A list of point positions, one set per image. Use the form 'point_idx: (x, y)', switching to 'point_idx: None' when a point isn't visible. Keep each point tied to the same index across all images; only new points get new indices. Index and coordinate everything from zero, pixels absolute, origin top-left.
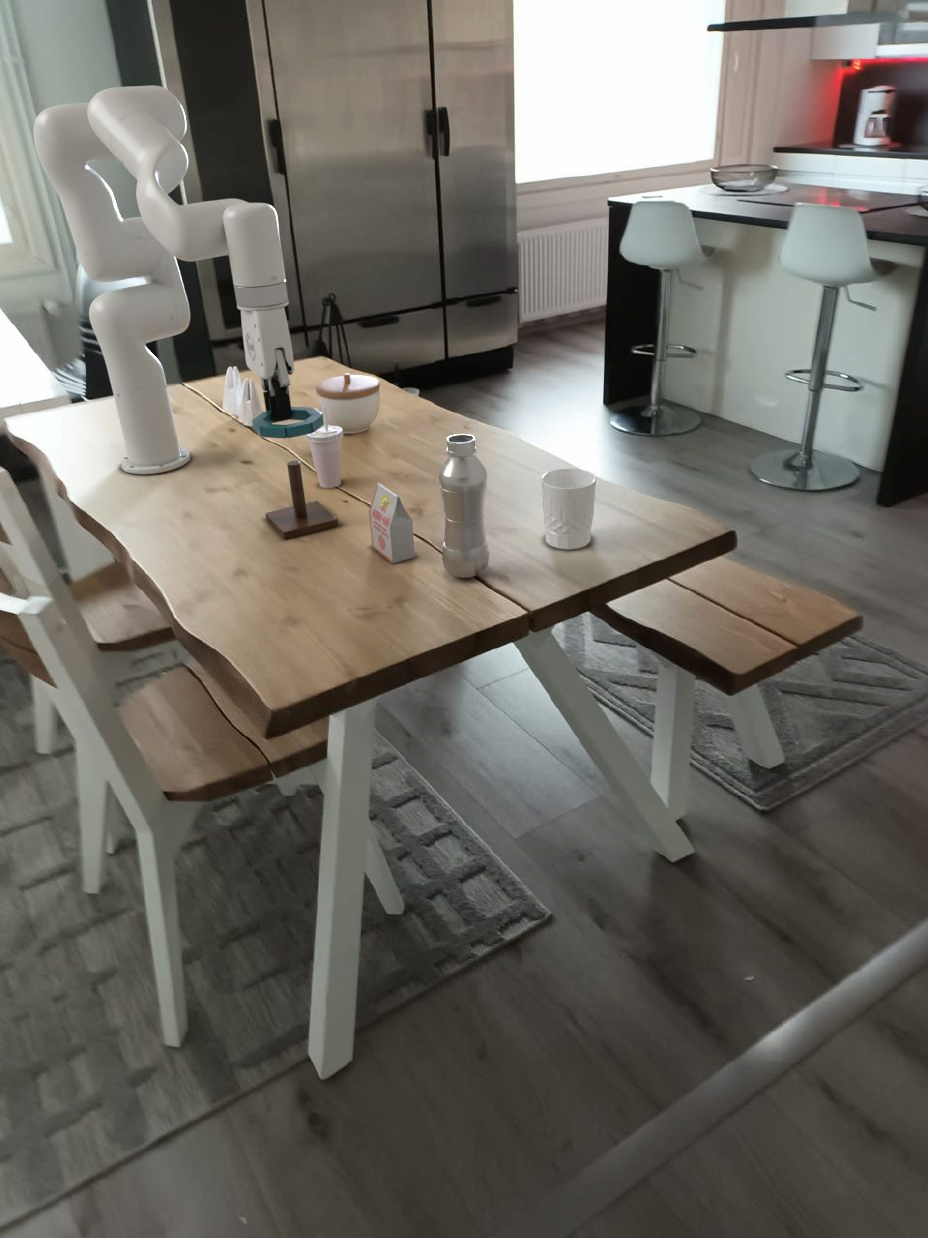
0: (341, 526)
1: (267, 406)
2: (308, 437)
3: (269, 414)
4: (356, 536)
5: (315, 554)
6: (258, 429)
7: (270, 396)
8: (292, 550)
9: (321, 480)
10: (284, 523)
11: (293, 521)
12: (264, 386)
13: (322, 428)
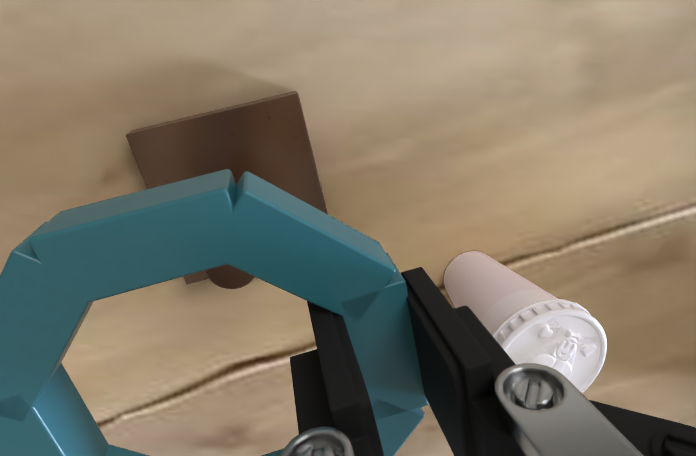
0: (185, 282)
1: (415, 313)
2: (536, 313)
3: (320, 305)
4: (109, 312)
5: (3, 206)
6: (86, 214)
7: (333, 418)
8: (44, 146)
9: (462, 264)
10: (195, 143)
11: (203, 170)
12: (509, 411)
13: (581, 360)
